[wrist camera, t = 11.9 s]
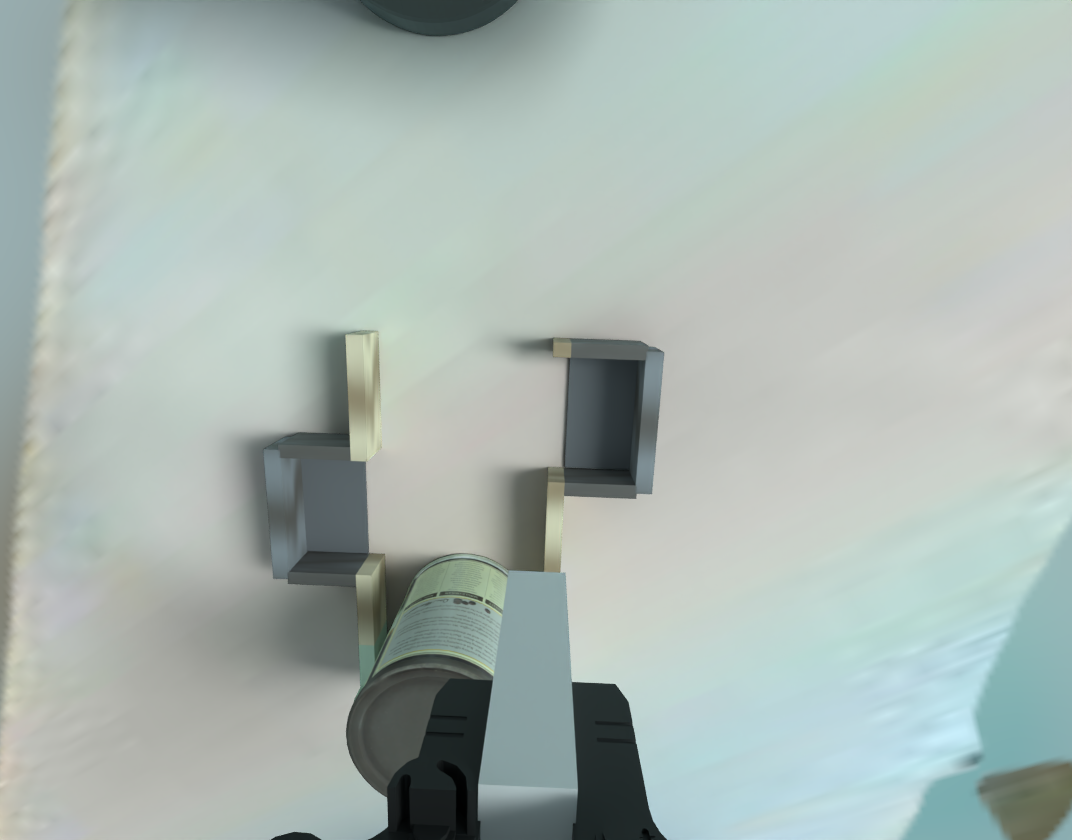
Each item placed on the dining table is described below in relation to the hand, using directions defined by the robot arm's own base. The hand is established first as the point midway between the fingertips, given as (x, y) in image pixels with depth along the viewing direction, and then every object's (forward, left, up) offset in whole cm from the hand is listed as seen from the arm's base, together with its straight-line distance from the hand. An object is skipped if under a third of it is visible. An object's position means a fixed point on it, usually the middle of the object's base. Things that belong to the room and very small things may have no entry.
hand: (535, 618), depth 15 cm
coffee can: (+18, -6, -29) cm, 34 cm away
